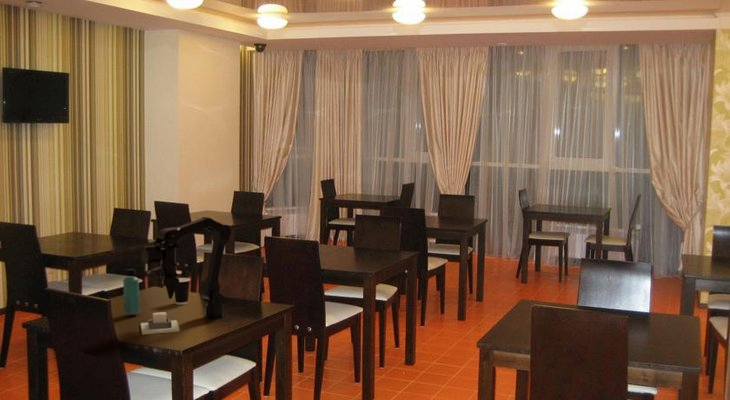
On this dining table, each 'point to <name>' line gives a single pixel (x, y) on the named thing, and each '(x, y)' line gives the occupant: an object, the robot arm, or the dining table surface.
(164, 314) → the plug
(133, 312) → the beverage bottle
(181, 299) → the dixie cup
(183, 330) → the dining table surface
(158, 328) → the header board
